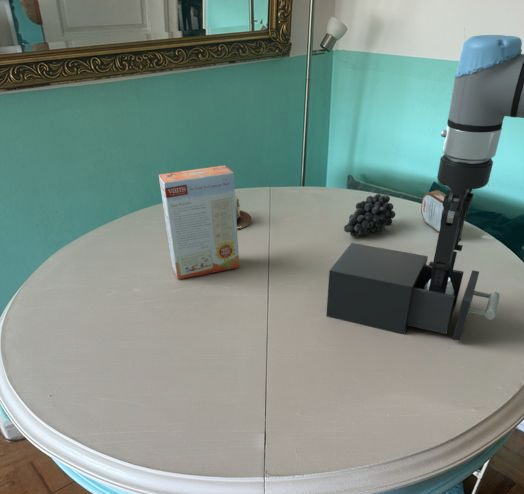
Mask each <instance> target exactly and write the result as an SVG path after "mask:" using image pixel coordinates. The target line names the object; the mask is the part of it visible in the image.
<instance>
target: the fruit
mask: <svg viewBox="0 0 524 494" xmlns="http://www.w3.org/2000/svg"><path fill="white" fill-rule="evenodd" d="M390 201H391V197H390V195H388V194H382V195H381V194H380V193H376V194H374V195H373V196H372V195H369V196H367V197H366V198H365V200H362V201H360V202H356V204H355V211H354V213H352V214H350V215H349V217H348V219H349V220H348V222H347V224H346V225H344V227H343V231H344V233H347V234H348V233H349V236H351V237H352V238H356V237H358V235H359V234H360V233H362V234H363V235H365V236H368V235H369V234H370V233H371V232H372V233H374V232H376V231H379V232H382V231H384V230H385V226H386V227H390V226H392V224H393V219H394V218H395V217H396V212H395V211H394V204H393V203H391V202H390Z"/></svg>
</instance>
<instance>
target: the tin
mask: <svg viewBox="0 0 524 494" xmlns="http://www.w3.org/2000/svg"><path fill="white" fill-rule="evenodd" d="M445 195H446V194H445V193H444V192H442V191H440V190H438V189H437V190H433V191H429V192H426V193H425V194H423V196H422V198H421V206H420V212H421V214H420V215H421V217H422V219H423V222H424V223H425V224H426V225H428V226H429V227H430V228H431V229H432V230H434V231H435V232H437V233H438V234H439V231H440V226H441V217H442V211H443V201H444V197H445Z"/></svg>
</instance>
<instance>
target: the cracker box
mask: <svg viewBox="0 0 524 494" xmlns="http://www.w3.org/2000/svg"><path fill="white" fill-rule="evenodd" d="M158 181H159V185H160V192H161V200H162V209H163V213H164V221H165V228H166V233H167V241H168V248H169V255H170V261H171V268H172V271H173V272H174V274H175V276H176V279H177V280H183V279H187V278H188V279H189V278H193V277H197V276H202V275H208V274H215V273H218V272H223V271H229V270H234V269H238V268H240V255H239V238H238V229H237V219H236V203H235V196H236V191H235V189H236V187H235V174H234V171H232V170H231V169H230V168H229V167H228V166H226V165H225V164H224V165H218V166H209V167H202V168H196V169H195V168H194V169H187V170H182V171H181V170H180V171H174V172H166V173H159V174H158Z"/></svg>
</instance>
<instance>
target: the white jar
mask: <svg viewBox="0 0 524 494" xmlns="http://www.w3.org/2000/svg"><path fill="white" fill-rule="evenodd" d="M430 281H431V279H430V280H429V281H428V283H427V284H426V285H425V286H424V289H425V290H429V286H430ZM445 294H450V295H453V294H454V289H453V286H452V282H451V280H450V278H449V279H448V283H447V288H446V292H445Z"/></svg>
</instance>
